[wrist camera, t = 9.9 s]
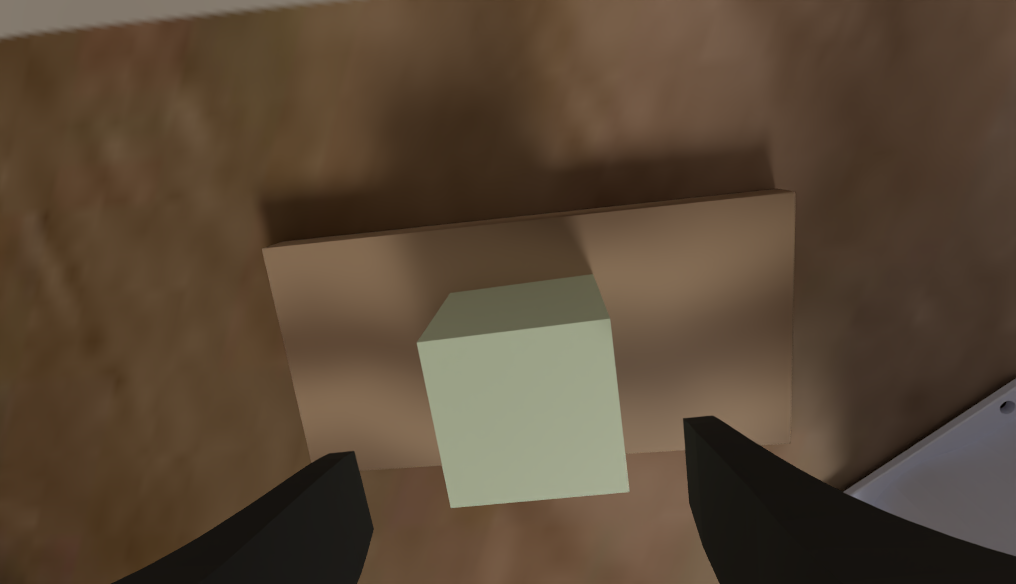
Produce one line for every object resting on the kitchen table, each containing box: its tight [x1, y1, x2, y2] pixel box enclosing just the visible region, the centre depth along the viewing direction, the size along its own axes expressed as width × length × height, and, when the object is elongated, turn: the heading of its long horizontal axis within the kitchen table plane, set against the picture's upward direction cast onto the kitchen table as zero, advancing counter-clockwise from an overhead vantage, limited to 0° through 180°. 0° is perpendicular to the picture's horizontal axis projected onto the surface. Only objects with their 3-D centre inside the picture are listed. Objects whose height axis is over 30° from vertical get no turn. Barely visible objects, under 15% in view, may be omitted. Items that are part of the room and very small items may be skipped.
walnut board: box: [262, 189, 796, 471], centre depth 20 cm, size 9×18×2 cm, turn 97°
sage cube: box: [417, 274, 629, 508], centre depth 17 cm, size 5×5×5 cm
